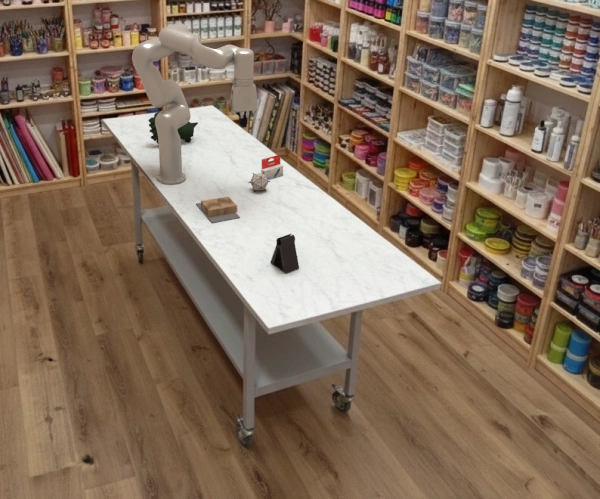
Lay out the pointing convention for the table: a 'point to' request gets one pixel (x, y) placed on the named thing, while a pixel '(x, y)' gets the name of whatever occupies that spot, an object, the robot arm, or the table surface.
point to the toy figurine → (184, 131)
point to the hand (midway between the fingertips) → (243, 126)
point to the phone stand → (285, 254)
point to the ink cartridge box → (272, 167)
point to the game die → (259, 181)
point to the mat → (220, 217)
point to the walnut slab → (218, 206)
